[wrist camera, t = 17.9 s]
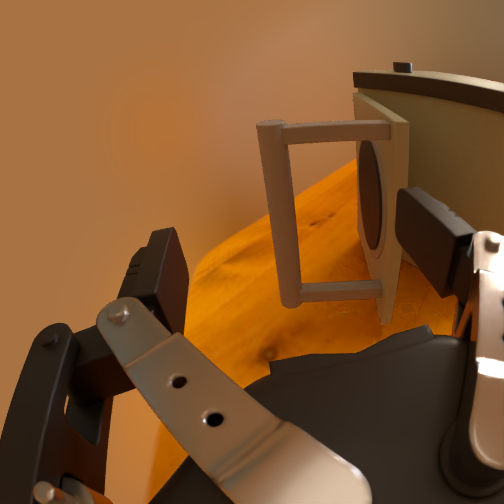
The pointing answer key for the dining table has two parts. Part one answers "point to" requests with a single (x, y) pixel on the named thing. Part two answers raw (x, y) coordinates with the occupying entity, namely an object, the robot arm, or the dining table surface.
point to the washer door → (369, 201)
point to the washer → (449, 138)
